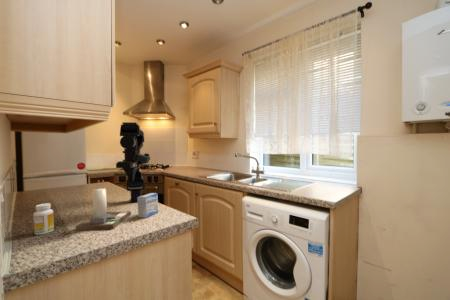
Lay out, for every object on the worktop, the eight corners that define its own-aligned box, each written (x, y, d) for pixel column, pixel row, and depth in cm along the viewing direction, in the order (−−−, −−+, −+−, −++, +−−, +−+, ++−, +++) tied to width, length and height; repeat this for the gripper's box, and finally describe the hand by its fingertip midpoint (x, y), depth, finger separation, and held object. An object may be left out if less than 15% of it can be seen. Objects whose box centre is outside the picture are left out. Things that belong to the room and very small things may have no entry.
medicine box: (146, 218, 88) (145, 197, 87) (137, 217, 89) (137, 196, 89) (158, 212, 95) (157, 193, 95) (150, 211, 96) (149, 192, 96)
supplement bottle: (52, 227, 80) (50, 201, 79) (55, 231, 76) (54, 204, 76) (32, 232, 75) (31, 205, 75) (36, 236, 72) (34, 207, 72)
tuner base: (100, 215, 92) (100, 211, 92) (130, 214, 93) (130, 210, 93) (75, 230, 76) (75, 225, 76) (112, 229, 77) (112, 224, 77)
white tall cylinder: (97, 219, 83) (96, 188, 83) (117, 218, 83) (116, 187, 83) (89, 223, 78) (88, 191, 78) (111, 223, 78) (110, 190, 78)
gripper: (140, 148, 93) (142, 184, 93) (153, 148, 111) (154, 177, 112) (114, 149, 92) (116, 185, 93) (132, 148, 111) (133, 178, 111)
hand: (131, 181), depth 102 cm, fingers closed
